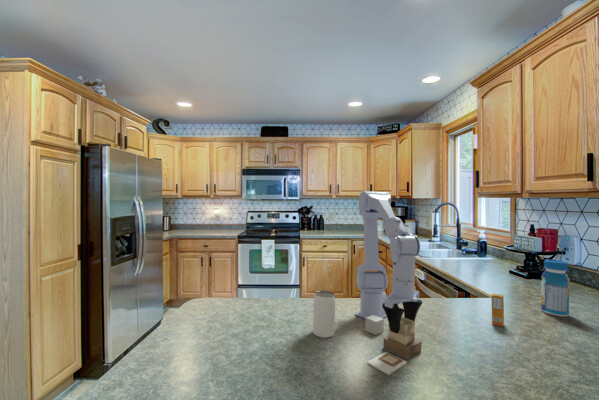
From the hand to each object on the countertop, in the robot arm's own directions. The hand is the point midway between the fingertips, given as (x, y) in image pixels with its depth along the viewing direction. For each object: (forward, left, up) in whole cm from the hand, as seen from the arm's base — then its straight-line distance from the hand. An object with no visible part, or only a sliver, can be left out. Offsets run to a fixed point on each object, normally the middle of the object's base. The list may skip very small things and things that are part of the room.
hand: (402, 328), depth 78 cm
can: (+11, -19, -6) cm, 23 cm away
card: (+10, +2, -5) cm, 12 cm away
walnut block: (0, 0, -6) cm, 6 cm away
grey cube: (-3, -11, -6) cm, 13 cm away
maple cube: (0, 0, -3) cm, 3 cm away
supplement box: (-42, +11, -6) cm, 44 cm away
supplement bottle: (-74, +21, -6) cm, 77 cm away
